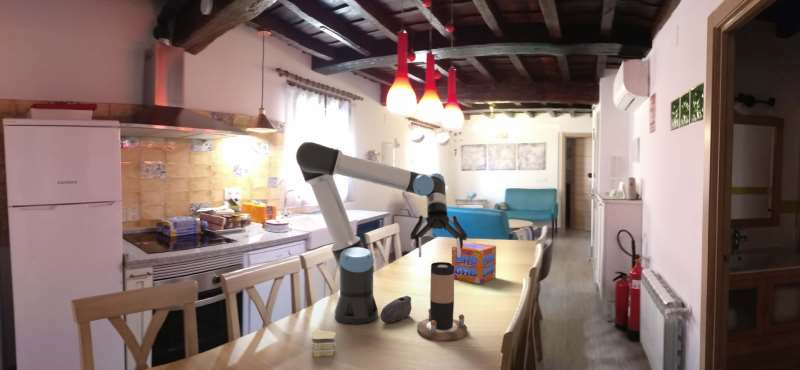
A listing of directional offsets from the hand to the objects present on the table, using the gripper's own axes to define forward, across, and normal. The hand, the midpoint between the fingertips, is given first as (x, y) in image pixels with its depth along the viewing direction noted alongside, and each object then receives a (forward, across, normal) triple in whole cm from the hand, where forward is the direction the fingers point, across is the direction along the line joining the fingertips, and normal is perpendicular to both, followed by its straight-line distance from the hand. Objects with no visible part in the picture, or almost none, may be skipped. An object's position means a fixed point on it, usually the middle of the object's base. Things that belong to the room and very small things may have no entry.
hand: (439, 255), depth 144 cm
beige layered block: (+35, +35, +3) cm, 50 cm away
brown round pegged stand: (+23, 0, -8) cm, 25 cm away
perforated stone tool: (+17, +15, -16) cm, 27 cm away
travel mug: (+22, 0, -8) cm, 23 cm away
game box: (-22, -21, -54) cm, 63 cm away
